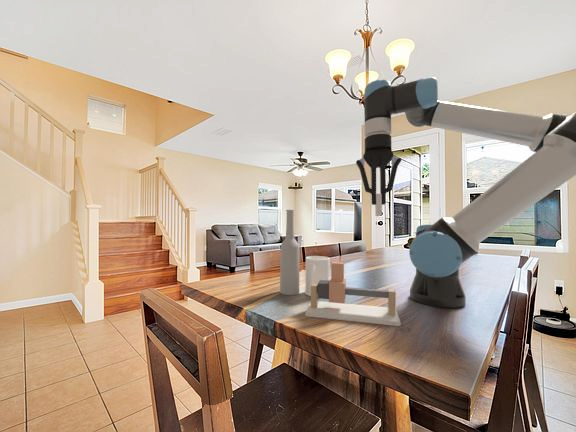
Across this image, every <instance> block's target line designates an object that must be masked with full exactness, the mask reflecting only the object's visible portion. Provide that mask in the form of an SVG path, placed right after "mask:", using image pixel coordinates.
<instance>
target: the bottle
mask: <svg viewBox="0 0 576 432" xmlns="http://www.w3.org/2000/svg"><path fill="white" fill-rule="evenodd" d="M285 211H286V229H285V238H284V240H283V241H282V242H281V244H280V253H279V254H280V255H279V256H280V257H279V259H280V264H279V266H280V267H279V269H280V271H279V274H280V275H279V293H280V294H281V295H283V296H296V295H299V294H300V244H299V242H297V240H296V238H295V229H294V228H295V227H294V226H295V225H294V222H295V221H294V215H295V214H294V213H295V212H294V211H295V210H294V209H286V210H285Z"/></svg>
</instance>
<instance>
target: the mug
mask: <svg viewBox="0 0 576 432" xmlns="http://www.w3.org/2000/svg"><path fill="white" fill-rule="evenodd" d="M330 259H331V258H330V257H328V256H323V255H322V256H321V255H310V256H306V257H305V289H304V294H305V295H306V296H309V297H311V285H312V284H318V283H319V281H320V280H329V281H330V280H331V265H330V263H331V260H330Z"/></svg>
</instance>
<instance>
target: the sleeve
mask: <svg viewBox="0 0 576 432" xmlns="http://www.w3.org/2000/svg"><path fill="white" fill-rule="evenodd" d="M330 263H331V265H330V282H329V299H328V302H332V303H343V304H344V303H345V304H346V296H347V295H345V287H347V286H346V285H347V283H346V282H347V279H346V278H345V262H341V261H340V262H339V261H332V262H330Z"/></svg>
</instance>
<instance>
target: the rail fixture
mask: <svg viewBox="0 0 576 432" xmlns="http://www.w3.org/2000/svg"><path fill="white" fill-rule="evenodd" d="M329 282H330V281H329V280H320V281H319V283H318V284H312V285H311V296H310V303H309V305H308V307H307V309H306V311H305V313H304V317H311V318H317V319H318V318H320V319H329V320H339V321H346V322H347V321H348V322H357V323H365V324H367V323H368V324H374V325H375V324H377V325H384V326H385V325H387V326H392V327H393V326H395V327H401V324H402V323H401V319H400V316H399V313H398V312H397V309H396V308H397V307H396V306H397V305H396V301H397V300H396V293H397V292H396V290H395V289H391V288H388V289H374V288H364V287H363V288H361V287H347V286H346V287H345V295H346V296H355V297H357V296H358V297H367V298H368V297H370V298H381V299H387V306H377V305H367V304H365V305H364V304H356V303H355V304H353V303H346V302H345V303H344V304H343V303H332V302H329V301H322V300H323V299H324V300H329ZM320 299H322V300H320ZM319 300H320V301H319Z"/></svg>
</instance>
